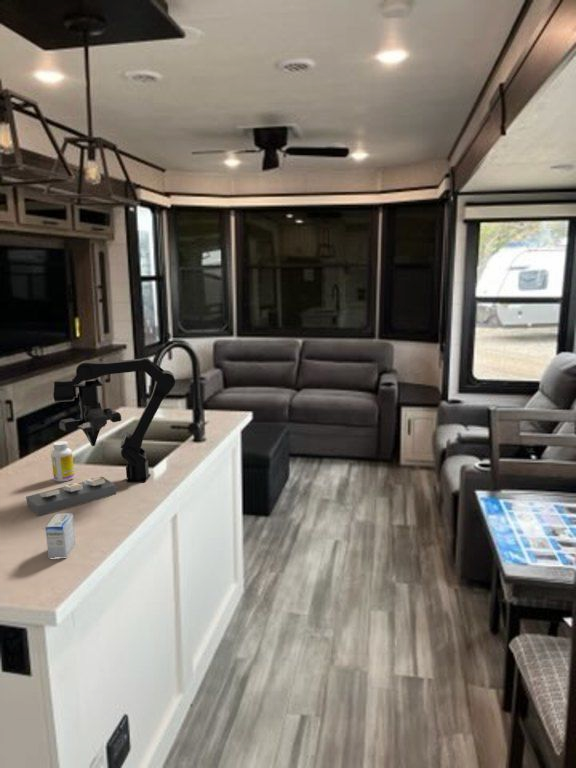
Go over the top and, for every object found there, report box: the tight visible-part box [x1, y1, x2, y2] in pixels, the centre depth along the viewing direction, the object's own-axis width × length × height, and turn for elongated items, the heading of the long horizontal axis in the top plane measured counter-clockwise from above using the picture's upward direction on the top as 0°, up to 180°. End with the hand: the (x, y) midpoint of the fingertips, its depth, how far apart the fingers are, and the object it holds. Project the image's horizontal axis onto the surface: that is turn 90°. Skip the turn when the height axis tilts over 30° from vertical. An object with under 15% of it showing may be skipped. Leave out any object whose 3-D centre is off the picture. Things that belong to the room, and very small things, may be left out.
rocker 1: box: [40, 488, 60, 497], centre depth 170 cm, size 6×4×1 cm, turn 41°
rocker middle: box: [63, 482, 83, 492], centre depth 175 cm, size 6×4×1 cm, turn 41°
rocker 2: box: [85, 476, 106, 486], centre depth 179 cm, size 6×4×1 cm, turn 41°
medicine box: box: [45, 513, 76, 559], centre depth 143 cm, size 8×4×9 cm, turn 5°
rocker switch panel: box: [25, 476, 117, 517], centre depth 176 cm, size 24×10×4 cm, turn 131°
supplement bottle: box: [50, 440, 75, 483], centre depth 194 cm, size 7×7×13 cm
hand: (93, 445), depth 188 cm, fingers closed
